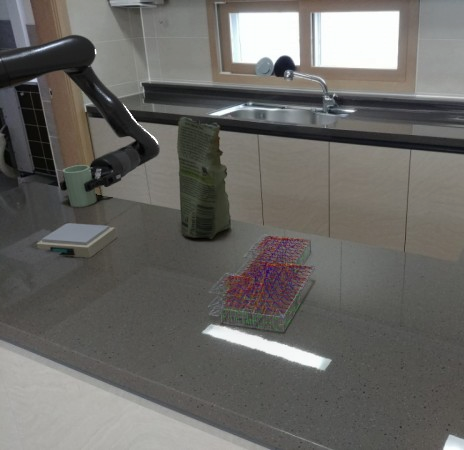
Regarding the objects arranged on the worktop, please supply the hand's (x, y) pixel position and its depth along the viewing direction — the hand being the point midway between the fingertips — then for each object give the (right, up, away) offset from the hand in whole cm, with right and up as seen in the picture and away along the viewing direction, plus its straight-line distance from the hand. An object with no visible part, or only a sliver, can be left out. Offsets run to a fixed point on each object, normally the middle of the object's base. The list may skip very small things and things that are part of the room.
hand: (73, 187), depth 131 cm
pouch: (+35, -11, -13) cm, 39 cm away
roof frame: (+50, -20, -36) cm, 65 cm away
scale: (+8, -14, -17) cm, 24 cm away
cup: (+1, -5, +5) cm, 6 cm away
